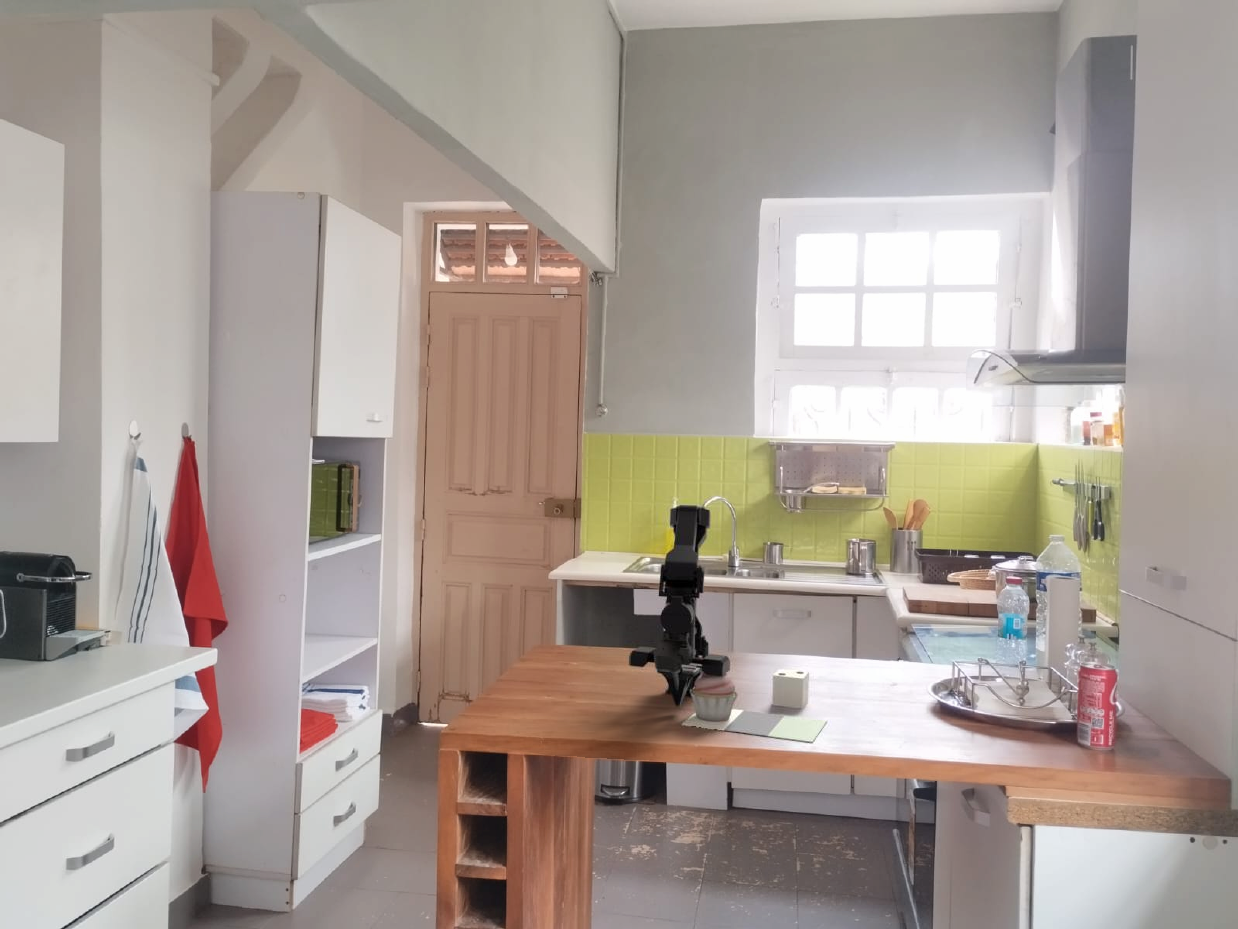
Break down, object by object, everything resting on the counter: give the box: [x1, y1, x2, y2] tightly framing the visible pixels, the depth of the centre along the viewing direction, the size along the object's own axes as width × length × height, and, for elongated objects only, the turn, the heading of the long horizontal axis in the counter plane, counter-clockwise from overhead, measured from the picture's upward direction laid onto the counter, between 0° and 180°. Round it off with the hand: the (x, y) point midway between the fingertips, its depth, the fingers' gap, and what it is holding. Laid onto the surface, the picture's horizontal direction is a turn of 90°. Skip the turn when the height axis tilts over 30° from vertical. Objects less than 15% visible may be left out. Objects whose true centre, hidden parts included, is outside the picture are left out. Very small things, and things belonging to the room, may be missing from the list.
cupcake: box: [690, 672, 740, 721], centre depth 184 cm, size 9×9×10 cm
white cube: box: [771, 668, 810, 709], centre depth 196 cm, size 6×6×6 cm
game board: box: [681, 708, 828, 744], centre depth 181 cm, size 24×14×1 cm, turn 68°
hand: (678, 705), depth 187 cm, fingers closed
